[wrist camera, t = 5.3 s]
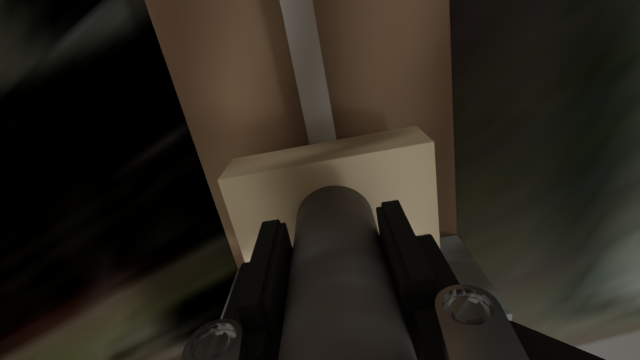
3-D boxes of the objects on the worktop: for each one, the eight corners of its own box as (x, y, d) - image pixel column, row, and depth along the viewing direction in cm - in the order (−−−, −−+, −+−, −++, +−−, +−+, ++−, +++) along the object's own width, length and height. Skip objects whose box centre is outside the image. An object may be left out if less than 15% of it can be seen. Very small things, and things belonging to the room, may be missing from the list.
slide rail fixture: (430, -152, 13) (542, -345, 6) (450, 301, 21) (507, 414, 15) (132, -81, 14) (-35, -187, 7) (268, 327, 22) (247, 445, 16)
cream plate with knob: (416, 125, 14) (620, 311, 5) (424, 226, 16) (579, 506, 6) (232, 158, 15) (69, 386, 5) (261, 252, 17) (181, 545, 7)
